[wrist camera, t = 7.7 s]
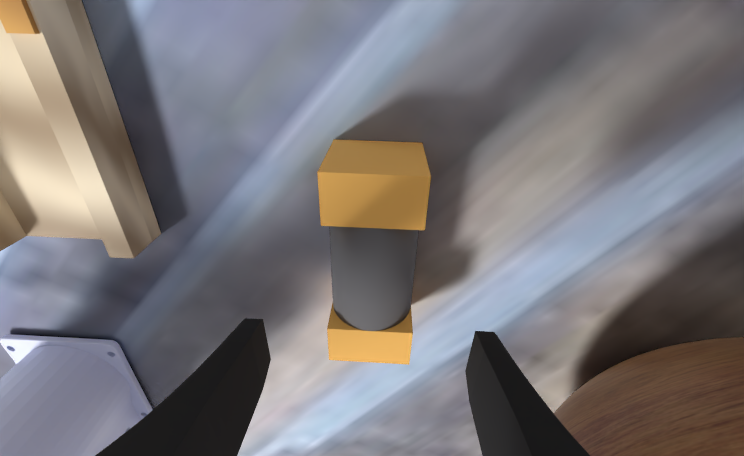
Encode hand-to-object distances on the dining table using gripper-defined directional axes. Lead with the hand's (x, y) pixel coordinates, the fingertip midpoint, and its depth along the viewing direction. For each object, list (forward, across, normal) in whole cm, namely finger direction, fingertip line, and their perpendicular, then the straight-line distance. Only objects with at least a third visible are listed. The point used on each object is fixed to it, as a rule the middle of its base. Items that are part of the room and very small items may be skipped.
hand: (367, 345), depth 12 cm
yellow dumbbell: (+7, 0, 0) cm, 7 cm away
